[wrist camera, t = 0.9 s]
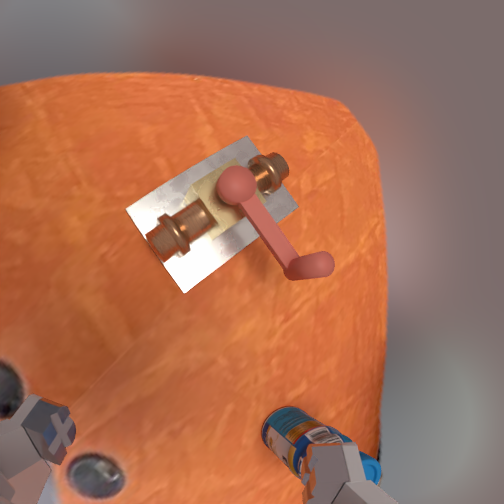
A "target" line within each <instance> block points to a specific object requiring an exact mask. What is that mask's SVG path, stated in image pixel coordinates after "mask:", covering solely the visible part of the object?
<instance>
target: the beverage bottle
mask: <svg viewBox="0 0 504 504" xmlns="http://www.w3.org/2000/svg"><path fill="white" fill-rule="evenodd" d="M262 438H263V441H264V443H265V445H266V446H267V447H268V448H269V449H270V450H272V451H273V452H274V453H275V454H276V455H277V456H278V457H279V459H280V460H281V461H282V462H283V463H284V464H285V465H286V466H287V467H288V468H289V469H290V471H291V472H292V473H293V474H294V475H295V476H296V477H298V478H299V479H301V467H302V462H303V458H304V457H306V456H307V451H306V450H307V447H308V445H309V444H319V443H347V442H352V440H351V439H350V438H348V437H347V436H345V435H342V434H341V433H340V432H339V431H338V430H336V429H335V428H333V427H330V426H326V425H324V424H322V423H321V422H319V421H317V420H316V419H314V418H312V417H311V416H309V415H308V414H307V413H305V412H304V411H303V410H301V409H299V408H296V407H284V408H281V409H278V410H277V411H275V412H273V413H272V414H271V415H270V416H269V417H268V418H267V420H266V421H265V423H264V425H263V428H262ZM359 454H360V458H361V462H362V466H363V469H364V473H365V477H366V480H371V481H372V482H374V483H375V484H376V485H377V484H378V482H379V479H380V476H381V466H380V464H379V463H378V462H377V460H375V459H374V458H372V457H371V456H369V455H367V454H365V453H363V452H361V451H359Z"/></svg>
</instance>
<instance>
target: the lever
mask: <svg viewBox="0 0 504 504" xmlns="http://www.w3.org/2000/svg"><path fill="white" fill-rule="evenodd" d="M256 188H257V183H256V179H255V177H254V175H253V173H252V172H251V171H250V170H248V169H247V168H245V167H243V166H238V165H234V166H230V167H228V168H226V169H225V170H224V171H223V172H222V174H221V175H220V177H219V178H218V180H217V184H216V189H217V193H218V195H219V197H220V198H221V199H222V200H223V201H224V202H226V203H227V204H230V205H238V206H239V208H240V209H241V210H242V212H243V213H244V215H245V216H246V217H247V219H248V220H249V222H250V223H251V224H252V226H253V227H254V229H255V230H256V231H257V233H258V234H259V236H260V237H261V238H262V240H263V241H264V243H265V244H266V245H267V247H268V248H269V250H270V251H271V253H272V254H273V255H274V257H275V258H276V260H277V261H278V262H279V264H280V265H281V267H282V268H283V271H284V274H285V276H286V277H287V278H288V279H289V280H292V281H294V280H303V279H312V278H320V277H327V276H329V275H331V274H332V272H333V271H334V267H335V263H334V259H333V257H332V256H331V254H329V253H328V252H325V251H321V252H317V253H313V254H309V255H305V256H301V257H299V255H298V254H297V252H296V251H295V249H294V248H293V246H292V245H291V244H290V242H289V241H288V239H287V238H286V236H285V235H284V233H283V232H282V231H281V229H280V228H279V226H278V225H277V223H276V222H275V221H274V219H273V218H272V216H271V215H270V214H269V212H268V211H267V209H266V208H265V207H264V205H263V204H262V202H261V201H260V200H259V198H258V197H257V195H256V194H255V192H256Z"/></svg>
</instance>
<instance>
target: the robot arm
mask: <svg viewBox="0 0 504 504" xmlns="http://www.w3.org/2000/svg"><path fill="white" fill-rule="evenodd" d="M69 414H70V411H69V409H68V407H67V406H64V405H61V404H59V403H56V402H53V401H51V400H48V399H46V398H43V397H41V396H38V395H35V394H31V395H29V396H28V398H27V399H26V400H25V401H24V403H23V404H22V405H21V406H20V408H19V409H18V410H17V411H16V413H15V414H14V415H13V417H12V418H11V419H10V420H8V419H6V420H3V421H1V422H0V504H14V503H12V502H11V499H12V498H13V496H14V494H15V488H14V487H13V486H12V485H11V484H10V483H9V481H8V480H9V479H10V478H12V477H14V476H15V475H17V474H19V473H20V472H22V471H23V470H25V469H27V468H28V467H30V466H32V465H33V464H35V463H36V462H38V461H40V460H41V458H43V459H45V460H47V461H50V462H52V463H55V464H58V465H61V463H62V461H63V459H64V457H65V456H66V454H67V451H66V447H67V446H69V445H71V444H72V443H73V441H74V439H75V434H76V427H75V424H74V421H73V420H72V419H71V418H70V417H69ZM306 451H307V456H306V457H304V458H303V462H302V467H301V482H302V483H303V484H304V485H305V488H304V490H303V492H302V496H303V504H399V503H397V501H395V500H394V499H393V498H392V497H390V496H389V495H388V494H387V493H385V492H384V491H383V490H382V489H381V488H379V487H378V486H377V485H376V484H375V483H374V482H372V481H371V480H366V477H365V473H364V469H363V466H362V462H361V458H360V454H359V451H358V447H357V444H356V443H355V442H347V443H319V444H309V445H308V447H307V450H306Z"/></svg>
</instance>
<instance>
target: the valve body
mask: <svg viewBox="0 0 504 504" xmlns="http://www.w3.org/2000/svg"><path fill="white" fill-rule="evenodd" d="M234 165H238V166H243V167H245V168H247V169H248V170H250V171H251V172H252V173H253V175H254V177H255V179H256V183H257V188H256V192H255V194H256V195H257V197H258V198H259V200H260V201H261V202H262V204H263V205H264V207H265V208H266V209H267V211H268V212H269V214H270V215H271V216H272V218H273V219H274V221H275V222H276V223H278V222H279V221H281V220H282V219H283V218H285V217H286V216H287V215H289V214H290V213H291V212H293V211H294V210H295V209H297V208H298V207H299V206H298V205H297V203H296V202H295V201H294V199H293V198H292V196H291V195H290V193H289V192H288V191H287V189H286V188H285V186H284V185H283V184H282V180H284V179H285V178H287V177H288V175H289V167H288V165H287V163H286V161H285V160H284V158H283V157H282V156H281V155H279V154H278V153H275V152H273V153H270V154H269V155H267V156H264V155H261V153H260V152H259V151H258V149H257V148H256V147H255V145H254V144H253V143H252V141H251V140H250V139H249V137H248V136H245V137H244V138H242V139H240V140H238V141H236V142H234V143H233V144H231V145H229V146H227V147H225V148H224V149H222V150H220V151H218V152H216V153H215V154H213V155H211V156H209V157H208V158H206V159H204V160H203V161H201V162H199V163H198V164H196V165H194V166H192V167H191V168H189V169H187V170H186V171H184V172H183V173H181V174H179V175H178V176H176V177H174V178H173V179H171V180H170V181H168V182H166V183H165V184H163V185H162V186H160V187H158V188H157V189H155V190H154V191H152V192H151V193H149V194H148V195H146V196H145V197H143V198H141V199H140V200H138V201H137V202H135V203H134V204H132V205H131V206H130V207H128V208H127V209H126V211H127V213H128V214H129V216H130V218H131V219H132V221H133V222H134V223H135V225H136V226H137V228H138V229H139V231H140V232H141V234H142V235H143V237H144V238H145V240H146V241H147V243H148V244H149V245H150V247H151V248H152V250H153V251H154V253H155V254H156V255H157V257H158V258H159V260H160V261H161V263H162V264H163V265H164V267H165V268H166V270H167V271H168V272H169V274H170V275H171V276H172V278H173V279H174V281H175V282H176V283H177V285H178V286H179V287H180V289H181V290H182V291H183V293H185V292H187V291H188V290H189V289H191V288H192V287H193V286H195V285H196V284H197V283H198V282H200V281H201V280H202V279H204V278H205V277H206V276H208V275H209V274H210V273H212V272H213V271H214V270H216V269H217V268H218V267H220V266H221V265H222V264H224V263H225V262H226V261H227V260H229V259H230V258H231V257H233V256H234V255H235V254H237V253H238V252H239V251H241V250H242V249H243V248H245V247H246V246H247V245H249V244H250V243H251V242H253V241H254V240H255V239H257V238H258V237H259V234H258V233H257V231H256V230H255V229H254V227H253V226H252V224H251V223H250V222H249V220H248V219H247V217H246V216H245V215H244V213H243V212H242V210H241V209H240V208H239V206H238V205H230V204H227V203H226V202H224V201H223V200H222V199H221V198H220V197H219V195H218V193H217V189H216V184H217V180H218V178H219V177H220V175H221V174H222V172H223V171H224V170H225V169H226V168H228V167H230V166H234Z"/></svg>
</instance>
